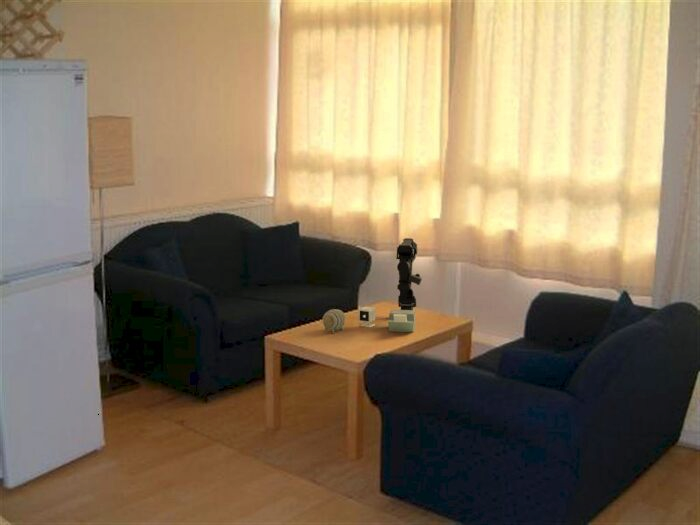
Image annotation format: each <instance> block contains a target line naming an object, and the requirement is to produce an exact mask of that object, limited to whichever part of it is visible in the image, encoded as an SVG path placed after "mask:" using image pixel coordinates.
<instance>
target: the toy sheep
mask: <svg viewBox="0 0 700 525" xmlns="http://www.w3.org/2000/svg"><path fill="white" fill-rule="evenodd" d="M345 323H346V315H345V313H344V311H342V310H341V309H336V308H335V309H334V308H333V309H329V310H327V311H326V312H325V313H324V314H323V316H322V324H323V326H324V333H325V332H327V333H328V330H329V331H331V334H332V335H335V332H337V331H339V330H340V331H343V327H344V326H345Z"/></svg>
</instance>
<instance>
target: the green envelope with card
mask: <svg viewBox="0 0 700 525" xmlns="http://www.w3.org/2000/svg"><path fill="white" fill-rule="evenodd" d="M387 324H388V332H394V333H395V332H398V333H399V332H400V333H414V332H415V329H414V327H413V321H407V317H406V314H394V320H389V319H387Z"/></svg>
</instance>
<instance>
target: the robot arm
mask: <svg viewBox="0 0 700 525" xmlns="http://www.w3.org/2000/svg"><path fill="white" fill-rule="evenodd" d="M417 255H418V244H417V243H416V242H415V241H414V239H413V238H407V237H405V238H403V241H402V242H401V243H400V244H399V245H398V246H397V248H396V256H395V257H396V260H398V264H397V266H396V270H397V271H398V283H397V285H396V286H397V290H399V295H398V297H397V298H398V299H397V301H398V306H397V307H398V308H400V310H414V308H415V307H417V298H416V296H415V294H414V290H413V289H412V283H413V284H416V285H417V286H420V285H421V283H422V282H421V281H422V280H423V278H422V277H421V275H420V274H419V273H416V274H413V264H414V261H415V260H416V258H417V257H416V256H417Z"/></svg>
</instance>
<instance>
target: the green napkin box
mask: <svg viewBox="0 0 700 525" xmlns="http://www.w3.org/2000/svg"><path fill="white" fill-rule="evenodd" d="M394 314H406V317H407V321H413V327H414V330H415V328H416V311H415V310H414V309H413V310H401V309H391V310H390V312H389V316H388V320H394Z"/></svg>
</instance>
